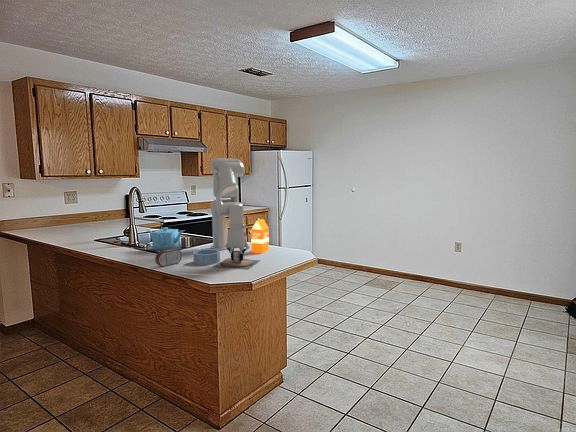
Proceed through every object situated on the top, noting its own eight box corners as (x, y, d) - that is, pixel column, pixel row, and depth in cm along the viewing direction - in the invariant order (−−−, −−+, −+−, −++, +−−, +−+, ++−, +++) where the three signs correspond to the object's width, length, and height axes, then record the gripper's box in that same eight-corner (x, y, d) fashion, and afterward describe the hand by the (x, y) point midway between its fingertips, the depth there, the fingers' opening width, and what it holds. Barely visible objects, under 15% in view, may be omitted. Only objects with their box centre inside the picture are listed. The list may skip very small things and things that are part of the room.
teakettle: (172, 246, 258) (171, 224, 256) (187, 250, 245) (186, 227, 243) (145, 250, 245) (143, 227, 243) (158, 255, 232) (157, 230, 230)
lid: (228, 259, 220) (228, 247, 219) (257, 260, 215) (257, 248, 214) (215, 266, 203) (215, 253, 202) (246, 268, 199) (246, 255, 198)
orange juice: (251, 252, 240) (250, 220, 238) (258, 249, 248) (258, 218, 246) (262, 253, 237) (262, 220, 234) (269, 250, 245) (269, 219, 242)
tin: (179, 262, 216) (178, 247, 215) (182, 262, 214) (182, 247, 213) (155, 267, 204) (154, 251, 203) (158, 268, 202) (157, 252, 201)
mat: (227, 259, 221) (227, 258, 221) (260, 261, 216) (260, 260, 216) (211, 268, 202) (211, 266, 202) (247, 270, 197) (247, 269, 197)
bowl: (201, 258, 222) (201, 248, 222) (223, 260, 219) (223, 249, 218) (188, 264, 209) (188, 253, 208) (212, 266, 205) (212, 255, 205)
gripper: (253, 226, 208) (254, 259, 210) (225, 225, 213) (225, 258, 215) (248, 228, 201) (249, 263, 203) (219, 227, 205) (219, 261, 208)
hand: (237, 260), depth 209 cm, fingers closed on lid, 4 cm apart
